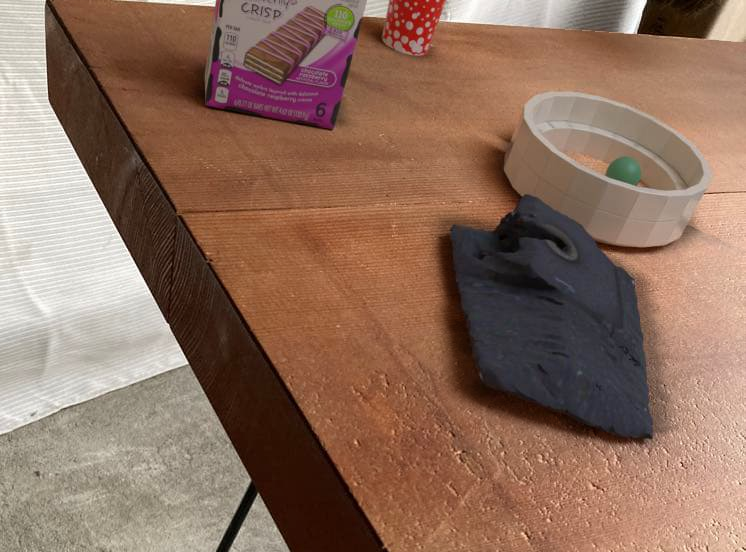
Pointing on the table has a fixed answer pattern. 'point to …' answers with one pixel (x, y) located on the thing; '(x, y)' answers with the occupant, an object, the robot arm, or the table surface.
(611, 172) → the bead
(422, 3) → the beverage cup
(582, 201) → the wide hollow ring
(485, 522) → the table surface
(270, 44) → the candy bar box
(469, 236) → the dark slate chunk
